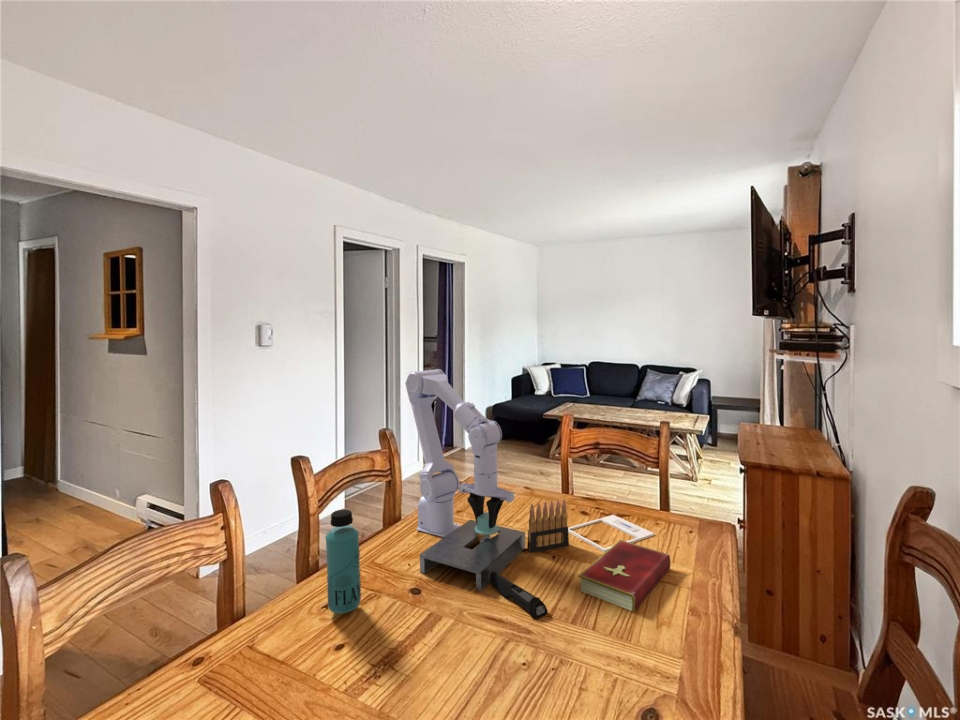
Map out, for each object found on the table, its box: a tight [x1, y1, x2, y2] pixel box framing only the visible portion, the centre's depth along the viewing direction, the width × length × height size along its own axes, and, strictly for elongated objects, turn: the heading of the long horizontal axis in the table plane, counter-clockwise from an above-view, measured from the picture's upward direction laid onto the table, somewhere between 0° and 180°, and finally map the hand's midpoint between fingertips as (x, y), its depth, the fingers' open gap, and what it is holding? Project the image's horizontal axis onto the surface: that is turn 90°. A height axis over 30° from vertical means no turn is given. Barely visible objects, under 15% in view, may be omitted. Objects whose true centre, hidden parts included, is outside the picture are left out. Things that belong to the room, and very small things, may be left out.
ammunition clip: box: [526, 498, 570, 554], centre depth 118 cm, size 11×2×12 cm, turn 108°
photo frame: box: [568, 514, 655, 553], centre depth 126 cm, size 15×1×18 cm
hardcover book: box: [578, 539, 672, 614], centre depth 103 cm, size 12×21×4 cm, turn 140°
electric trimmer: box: [489, 572, 549, 620], centre depth 96 cm, size 4×16×3 cm, turn 36°
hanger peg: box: [475, 511, 499, 544], centre depth 117 cm, size 6×6×7 cm
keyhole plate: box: [419, 519, 526, 592], centre depth 112 cm, size 16×22×4 cm
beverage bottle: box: [325, 508, 362, 614], centre depth 92 cm, size 6×7×20 cm
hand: (486, 525), depth 117 cm, fingers closed on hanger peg, 3 cm apart
